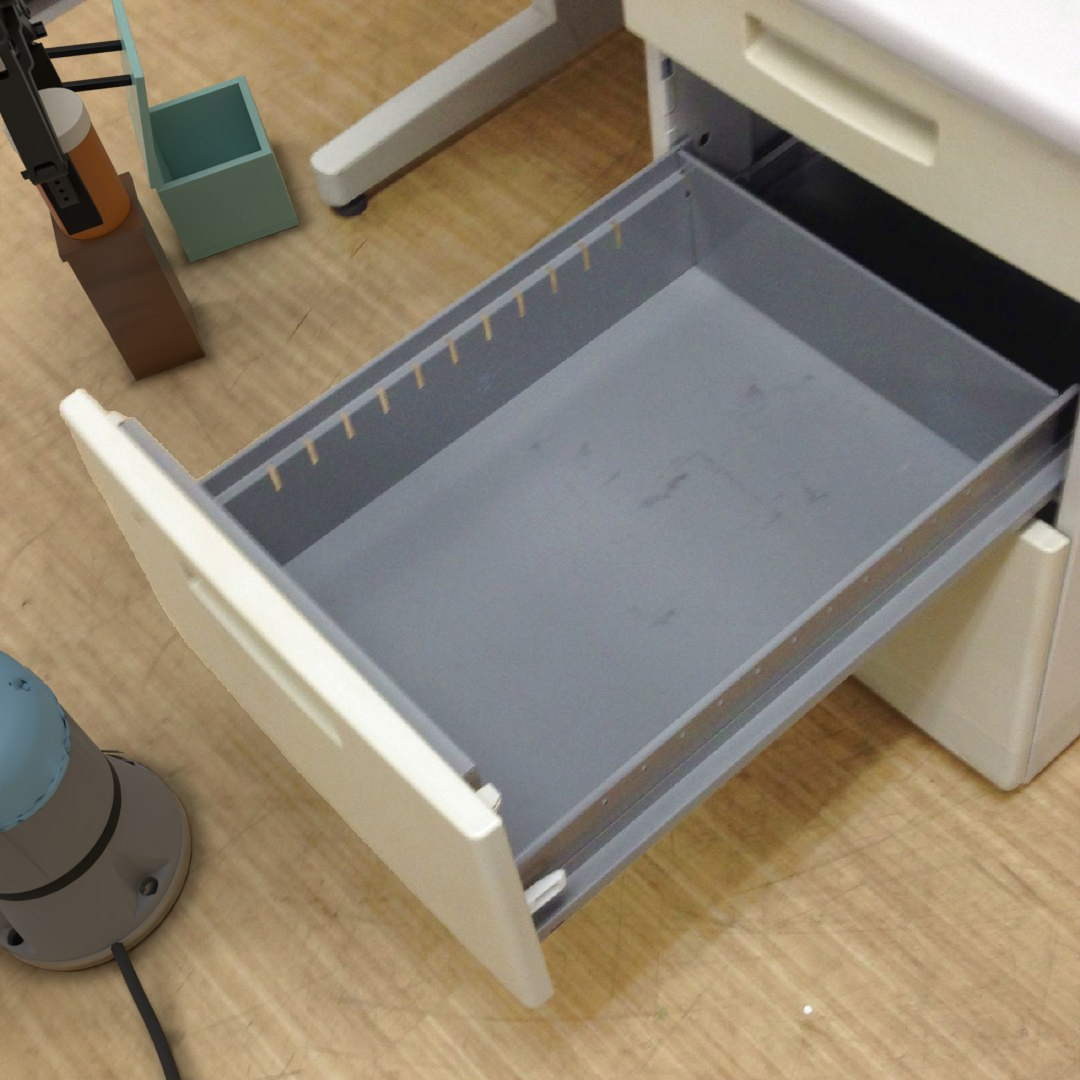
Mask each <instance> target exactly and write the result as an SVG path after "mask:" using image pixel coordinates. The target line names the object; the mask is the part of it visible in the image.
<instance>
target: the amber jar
mask: <svg viewBox="0 0 1080 1080" xmlns="http://www.w3.org/2000/svg"><path fill="white" fill-rule="evenodd" d="M38 92H39V94H40V97H41V99H42V101H43V104H44V106H45V109H46V111H47V114H48V116H49V118H50V121H51V123H52V126H53V128H54V131H55V133H56V135H57V138H58V140H59V143H60V145H61V148H62V150H63V152H64V153H68V155H69V156H70V158H71V160H72V162H73V164H74V166H75V168H76V169H77V171H78V173H79V175H80V177H81V179H82V181H83V183H84V184H85V186H86V188H87V190H88V192H89V194H90V196H91V198H92V199H93V201H94V203H95V205H96V207H97V209H98V211H99V213H100V214H101V216H102V219H103V223H104V224H102V225H99V226H97V227H94V228H91V229H88V230H85V231H82V232H79V233H77V234H74V235H71V236H69V235H68V233H67V231H66V229H65V227H64V226H63V224H62V222H61V220H60V219H59V217H58V215H57V213H56V212H55V210H54V208H53V206H52V205H51V203H50V201H49V199H48V197H47V196H46V194H45V192H44V190H43V189H42V187H41V185H40V184H39V185H36V186H35V188H36V189H37V191H38V192H39V194H40V196H41V198H42V200H43V201H44V203H45V205H46V207H47V209H48V211H49V210H50V211H49V213H50V212H51V214H52V215H53V217H54V219H55V221H56V223H57V224H58V226H59V228H60V230H61V231H62V232H63V233H64V234H65V235H67V236H69V237H71V238H74V239H80V240H87V239H94V238H98V237H101V236H103V235H106V234H108V233H110V232H111V231H113V230H114V229H116V228H117V227H118V226H119V225H120V224H121V223H122V222H123V221H124V220H125V219H126V217H127V215H128V213H129V211H130V198H129V196H128V194H127V192H126V190H125V188H124V186H123V184H122V182H121V180H120V178H119V176H118V175H119V174H118V172H117V169H116V168H115V166H114V163H113V162H112V160H111V158H110V156H109V154H108V152H107V150H106V148H105V146H104V144H103V142H102V140H101V137H100V136H99V134H98V132H97V130H96V129H95V126H94V124H93V123H92V120H91V116H90V114H89V111H88V109H87V108H86V105H85V103H84V101H83V99H82V97H81V96H80V95H79V94H78V93H77V92H73V91H71V90H68V89H64V88H48V89H43V90H40V91H38ZM2 122H3V123H2V130H3V133H4V135H5V137H6V139H7V141H8V142H9V144H10V146H11V147H12V149H13V151H14V152H15V154H17V156H18V157H19V159H20V161H21V162H22V164H23V161H22V159H21V157H20V155H19V153H18V151H17V149H16V146H15V144H14V142H13V140H12V138H11V136H10V133H9V131H8V129H7V127H6V125H5V123H4V121H2Z"/></svg>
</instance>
